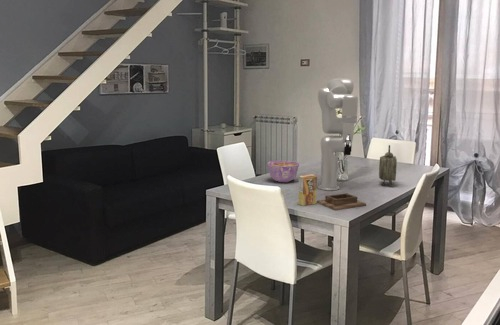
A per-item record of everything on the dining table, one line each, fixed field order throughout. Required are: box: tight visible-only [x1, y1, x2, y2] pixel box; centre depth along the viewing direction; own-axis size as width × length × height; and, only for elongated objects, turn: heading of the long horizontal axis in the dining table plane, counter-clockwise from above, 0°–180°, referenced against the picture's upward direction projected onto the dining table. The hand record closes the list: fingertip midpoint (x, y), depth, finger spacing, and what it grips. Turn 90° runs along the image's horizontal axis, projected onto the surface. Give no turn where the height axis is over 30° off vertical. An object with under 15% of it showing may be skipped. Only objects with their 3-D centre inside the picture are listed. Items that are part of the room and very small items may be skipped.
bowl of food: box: [267, 160, 300, 183], centre depth 306 cm, size 20×20×12 cm
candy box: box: [297, 174, 318, 207], centre depth 253 cm, size 9×4×15 cm, turn 120°
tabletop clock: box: [378, 144, 398, 188], centre depth 297 cm, size 14×9×25 cm, turn 168°
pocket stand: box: [316, 192, 367, 211], centre depth 254 cm, size 16×20×4 cm
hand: (347, 153), depth 247 cm, fingers open, 9 cm apart
